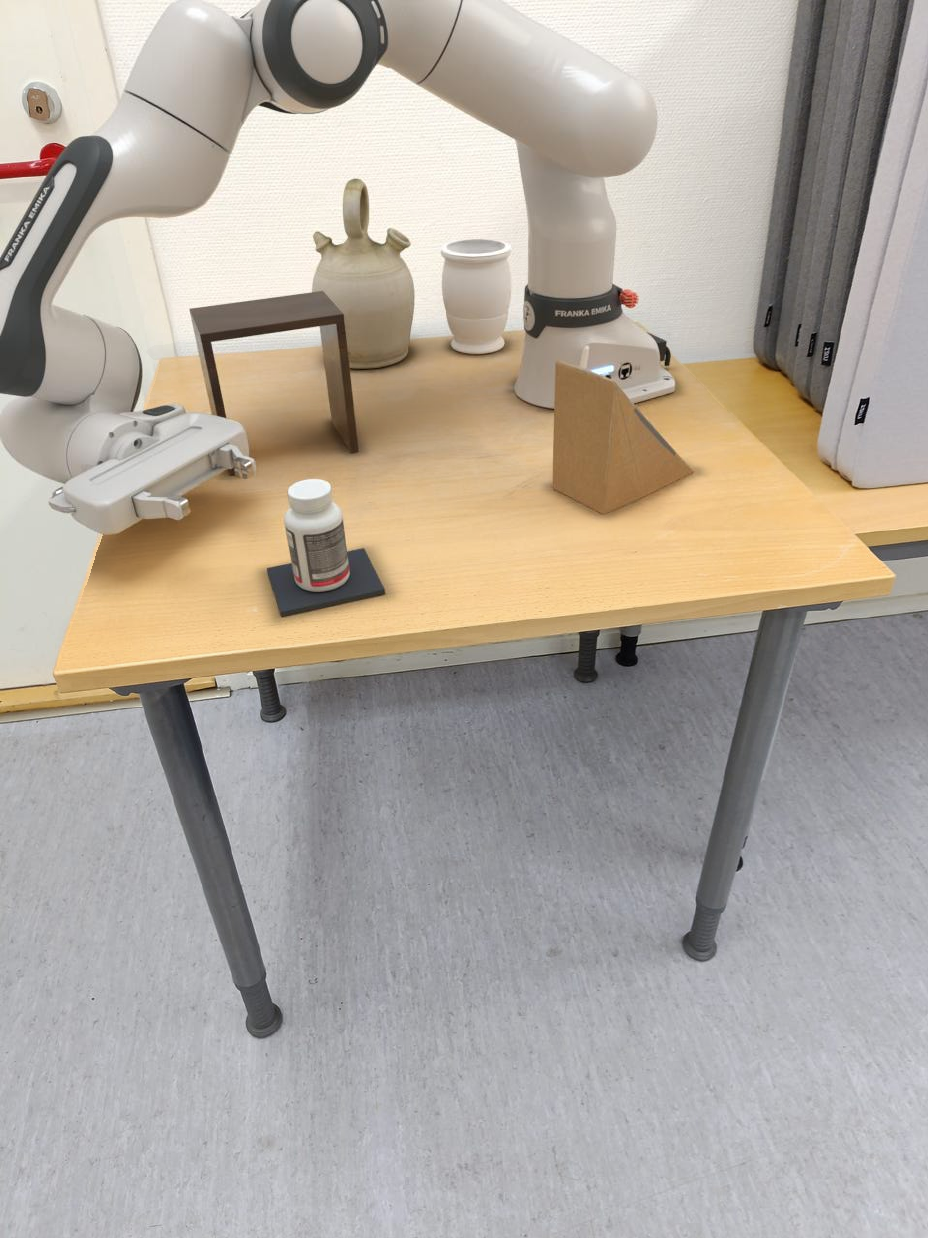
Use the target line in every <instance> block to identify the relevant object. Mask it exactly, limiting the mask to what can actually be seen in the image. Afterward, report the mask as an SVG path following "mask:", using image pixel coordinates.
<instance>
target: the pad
mask: <svg viewBox="0 0 928 1238" xmlns="http://www.w3.org/2000/svg"><path fill="white" fill-rule="evenodd" d="M347 555H348V562H349V571H350V575H349V578H348V579H347V581H346V582H345V583H344V584H343V585H341V586H340V587H338V588H336V589H333V590H329V591H323V592H312V591H307V590H304V589H302V588H301V587H299V586H298V585H297V584H296V582H295V579H294V574H293V568H292V562H289V563H285V564H284V563H283V564H280V565H275V566H270V567H266V572H267V576H268V578H269V579H268V580H269V582H270V585H271V589H272V591H273V595H274V598H275V602H276V604H277V608H278V610H279V614H280V617H282V618H283V617H287V616H288V617H289V616H291V615H297V614H300V613H305V612H310V611H314V610H319V609H325V608H328V607H332V606H336V605H337V606H338V605H342V604H346V603H350V602H354V601H359V600H363V599H369V598H372V597H378V596H383V595H385V594H386V589H385V587H384V585H383V583H382V581H381V579H380V577H379V574H378V573H377V571H376V569H375V567H374V565H373V563H372V561H371V559H370V557H369V555H368V553H367V551H366V549H365V547H362V548H357V549H352V550H347Z"/></svg>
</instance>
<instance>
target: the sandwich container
mask: <svg viewBox="0 0 928 1238" xmlns="http://www.w3.org/2000/svg"><path fill="white" fill-rule="evenodd" d="M552 438H553V439H552V440H553V441H552V443H553V444H552V489H554V490H555V491H557V492H559V493H561V494H563V495H565V496H566V497H569V498H571V499H572V500H575V501H577V502H578V503H580V504H582V505H584V506H586V507H588V508H589V509H592V510H594V511H596V512H598V513H600V514H602V515H605V514H608V513H610V512H613V511H615V510H617V509H619V508H621V507H624V506H626V505H628V504H631V503H632V502H636V501H638V500H639V499H642V498H644V497H647V496H649V495H650V494H652V493H655V492H656V491H659V490H660V489H662V488H664V487H666V486H668V485H670V484H672V483H675V482H676V481H679V480H680V479H683V478H685V477H687V476H688V475H691V474H693V473H694V472H695V471H694V470H693V469H692V467H691V466H690V465H688V463H687V462H686V461H685V460H684V459H683V457H681V455H680V454H678V453H677V451H676V450H675V449H674V448H673V447H672V445H670V443H668V441H667V440H666V439H665V438H664V437H663V436H662V434H661V433H660V432H659V431H658V430H657V429H656V428H655V426H654V425H653V424H652V423H651V422H650V421H649V420H648V419H647V418H646V417H645V416H644V414H643V413H642V412H641V411H640V410H639V408H638V407H637V406H636V405H635V403H634V404H633V402H632V401H631V400H630V399H629V398H628V396H627V395H626V394H625V393H624V392H623V390H622V389H621V388H620V387H619V386H618V384H617V383H616V382H615V381H613V380H612V379H609V378H607V377H604V376H602V375H600V374H597V373H595V372H593V371H590V370H588V369H585V368H582V367H579V366H575V365H572V364H569V363H566V362H563V361H559V360H558V361H557V362H556V364H555V400H554V409H553V436H552Z"/></svg>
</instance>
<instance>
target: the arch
mask: <svg viewBox="0 0 928 1238" xmlns="http://www.w3.org/2000/svg"><path fill="white" fill-rule="evenodd" d="M188 310H189V314H190V319H191V324H192V328H193V333H194V334H193V335H194V338H195V343H196V347H197V352H198V357H199V363H200V366H201V371H202V375H203V376H202V377H203V379H204V380H203V381H204V385H205V389H206V393H207V399H208V403H209V408H210V412H211V415H215V416H219V417H223V418H226V419H228V418H227V413H226V408H225V403H224V398H223V393H222V388H221V383H220V379H219V374H218V369H217V363H216V358H215V354H214V350H213V344H212V343H214V342H221V341H227V340H228V341H229V340H235V339H242V338H248V337H256V336H262V335H270V334H275V333H276V334H277V333H283V332H289V331H296V330H297V331H298V330H304V329H311V328H318V327H319V326H320V327H319V334H320V343H321V348H322V356H323V364H324V365H323V366H324V372H325V380H326V388H327V397H328V403H329V412H330V420H331V424H332V425H333V427H334V429H335V430H336V432H337V433H338V435H339V436H340V438H341V440H342V441H343V443H344V444H345V446H346V447H347V449H348V451H349V452H350V454H353V453H359V450H360V449H359V442H358V431H357V423H356V412H355V404H354V396H353V394H354V393H353V387H352V386H353V385H352V378H351V377H352V376H351V368H350V367H349V357H348V348H347V339H346V330H345V323H344V322H345V321H344V314H343V313H342V312H341V311H340V309H339V308H338V307H337V306H336V305H335V304H334V303H333V302H332V300H331V299H330V298H329V297H328V296H327V295H326V294H325V293H324V291H318V292H312V291H311V292H303V293H297V294H290V295H289V294H288V295H281V296H273V297H267V298H257V299H252V300H244V301H243V300H242V301H236V302H228V303H222V304H215V305H207V306H198V307H192V308H189V309H188ZM234 469H235V468H232V469H227V470H226V471H227V472H228V475H229V476H230V477H231V476H235V472H234Z"/></svg>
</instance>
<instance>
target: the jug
mask: <svg viewBox="0 0 928 1238" xmlns="http://www.w3.org/2000/svg"><path fill="white" fill-rule="evenodd" d="M342 220H343V228H344V231H345V234H346V236H347V238H346V239H345V240H344V242H343V243H340V244H334V243H333V238H331V237H330V236H326V235H325V234H323V233H322V232H320V231H315V232H314V233H313V235H312V238H313V242H314V244H315V251H316V252H317V253H319V254H320V260H319V262H318V264H317V266H316V269H315V271H314V274H313V277H312V284H311V292H318V291H324V293H325V294H326V295H327V296H328V297H329V298H330V299H331V300H332V302H333V303H334V304H335V305H336V306H337V307H338V308H339V309H340V311H341V312H342V313H343V314H344V321H345V322H344V323H345V330H346V339H347V348H348V357H349V367H350V369H352V370H354V369H355V370H367V369H369V370H371V369H380V368H384V367H389V366H393V365H395V364H398V363H400V362H401V361H403V360H404V359H405V358H406V357H407V356H408V353H409V346H410V341H411V332H412V326H413V320H414V312H415V285H414V279H413V276H412V273H411V271H410V269H409V267H408V265H407V263H406V262H405V260H404V259H403V257H402V256H401V253H402V252H403V251H405V250H406V249H407V248H409V247H411V245H412V243H411V241H410V239H409V238H408V237H407V236H406V235H405V234H403V233H402V232H401V231H399V230H397V229H396V228H392V227H390V228H388V229H387V230H386V237H385V242H383V243H381V242H377V241H375V240H373V239H372V238H371V237H370V235H369V231H368V230H369V226H370V225H369V224H370V197H369V191H368V186H367V184H366V182H364V181H363V180H362V179H360V178H355V177H354V178H352V179H349V180H348V181H347V182H346V183H345V186H344V190H343V194H342ZM318 327H319V328H320V326H318Z"/></svg>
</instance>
